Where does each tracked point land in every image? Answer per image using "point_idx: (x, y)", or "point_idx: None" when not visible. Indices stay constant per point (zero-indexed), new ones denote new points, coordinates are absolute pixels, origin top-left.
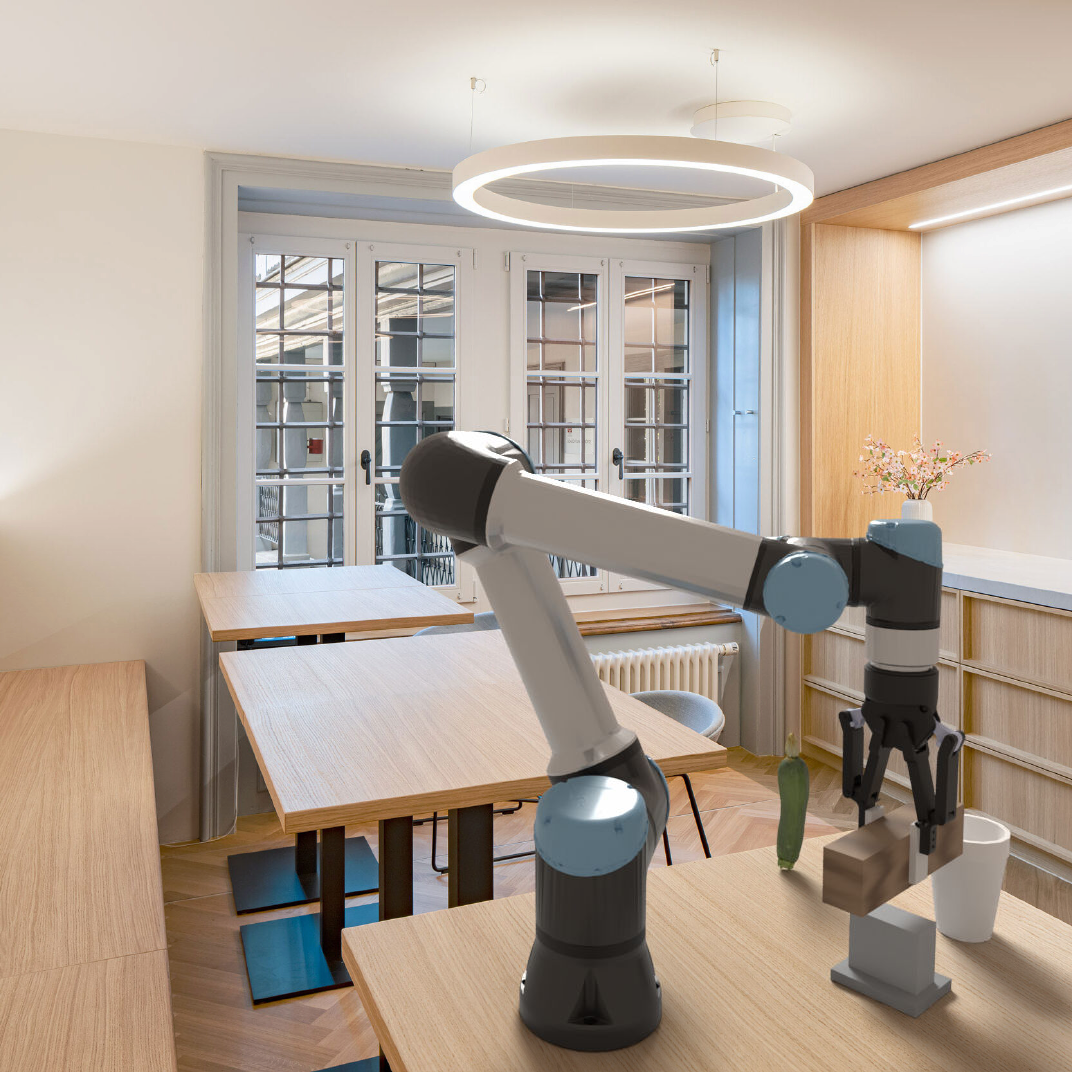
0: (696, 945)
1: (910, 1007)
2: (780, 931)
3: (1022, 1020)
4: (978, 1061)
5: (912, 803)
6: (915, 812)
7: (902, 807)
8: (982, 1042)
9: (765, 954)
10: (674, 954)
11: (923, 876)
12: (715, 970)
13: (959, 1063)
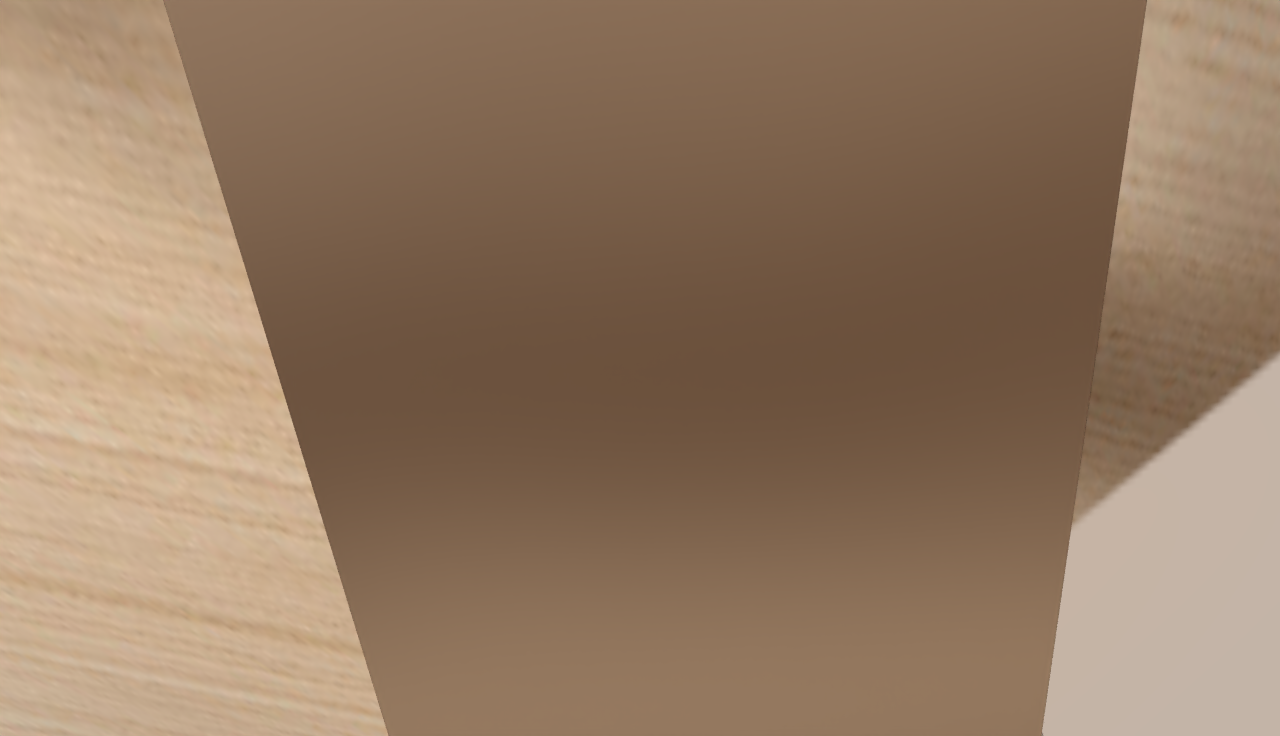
0: (61, 575)
1: None
2: (92, 243)
3: (1274, 8)
4: (1193, 412)
5: (339, 311)
6: (654, 606)
7: (379, 580)
8: (1170, 301)
9: (235, 437)
10: (89, 662)
11: None
12: (246, 635)
13: (1141, 468)
